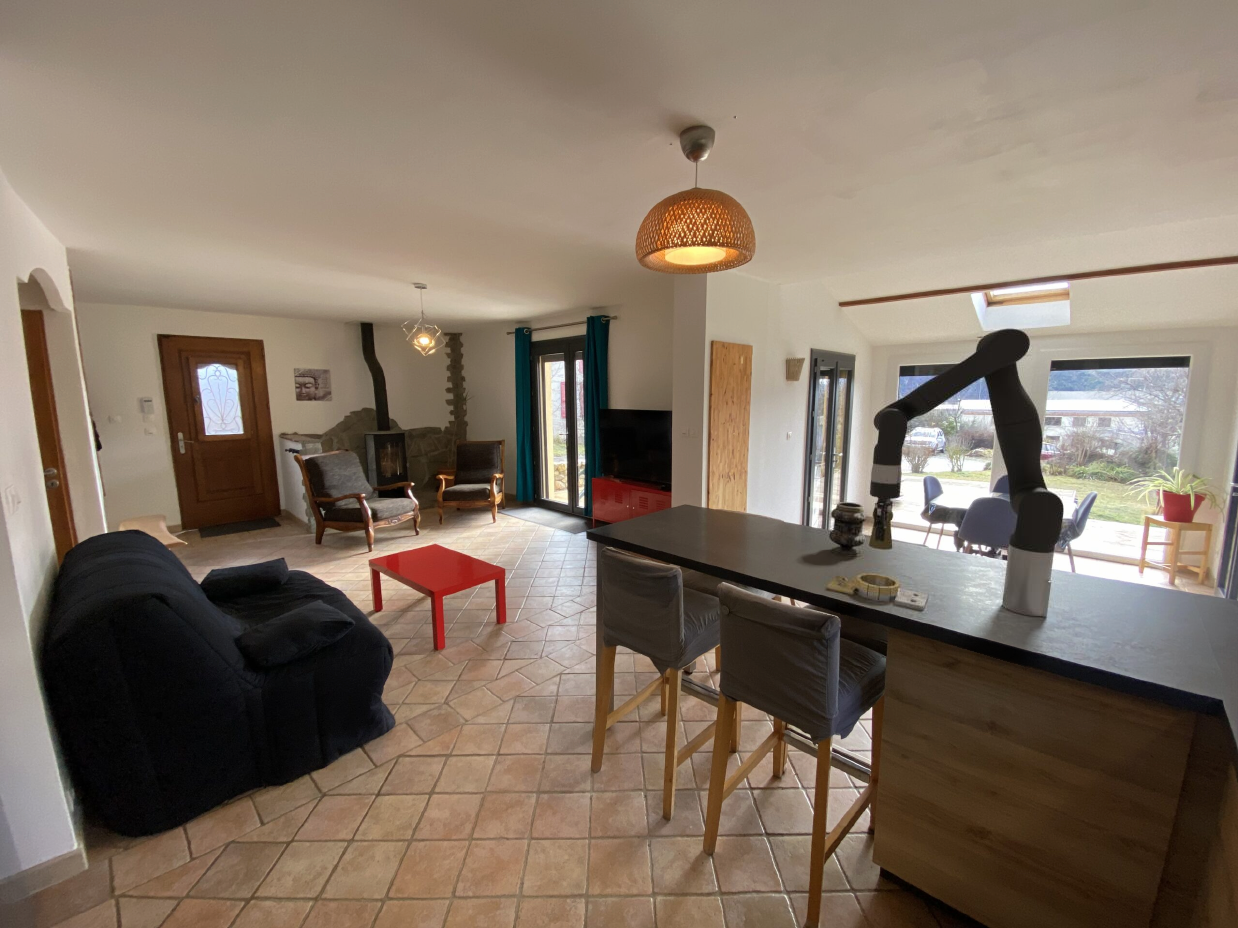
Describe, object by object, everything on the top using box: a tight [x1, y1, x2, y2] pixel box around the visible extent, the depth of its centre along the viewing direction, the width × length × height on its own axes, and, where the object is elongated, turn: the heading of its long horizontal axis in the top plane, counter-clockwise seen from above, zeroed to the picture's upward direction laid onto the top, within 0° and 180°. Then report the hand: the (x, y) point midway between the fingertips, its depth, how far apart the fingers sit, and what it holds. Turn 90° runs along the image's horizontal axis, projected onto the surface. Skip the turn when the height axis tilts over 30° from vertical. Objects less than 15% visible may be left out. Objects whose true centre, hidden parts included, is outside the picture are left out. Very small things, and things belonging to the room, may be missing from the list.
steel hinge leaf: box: [855, 581, 929, 612], centre depth 142 cm, size 18×11×2 cm, turn 52°
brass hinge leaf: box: [827, 572, 901, 596], centre depth 146 cm, size 18×11×4 cm, turn 52°
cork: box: [868, 510, 894, 551], centre depth 141 cm, size 6×6×11 cm
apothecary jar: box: [828, 501, 868, 557], centre depth 180 cm, size 12×12×18 cm
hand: (881, 538), depth 142 cm, fingers closed on cork, 4 cm apart
